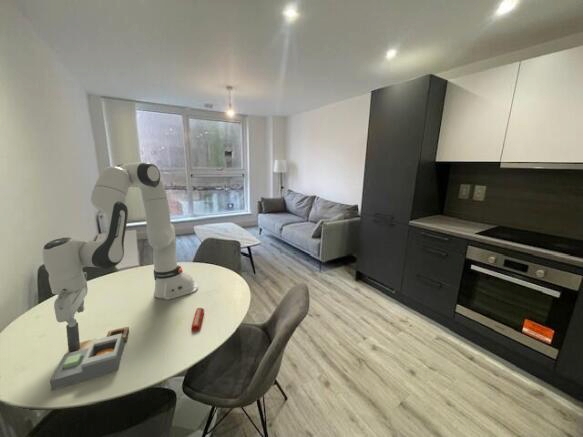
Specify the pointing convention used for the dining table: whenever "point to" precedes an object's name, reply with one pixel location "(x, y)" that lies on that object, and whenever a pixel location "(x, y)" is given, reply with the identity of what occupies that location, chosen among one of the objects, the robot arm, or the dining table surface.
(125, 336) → the stand
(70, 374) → the grey boxy piece
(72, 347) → the grey rounded rod
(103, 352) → the plunger
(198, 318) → the candy bar
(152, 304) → the dining table surface
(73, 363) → the on button
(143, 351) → the dining table surface
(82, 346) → the pad
